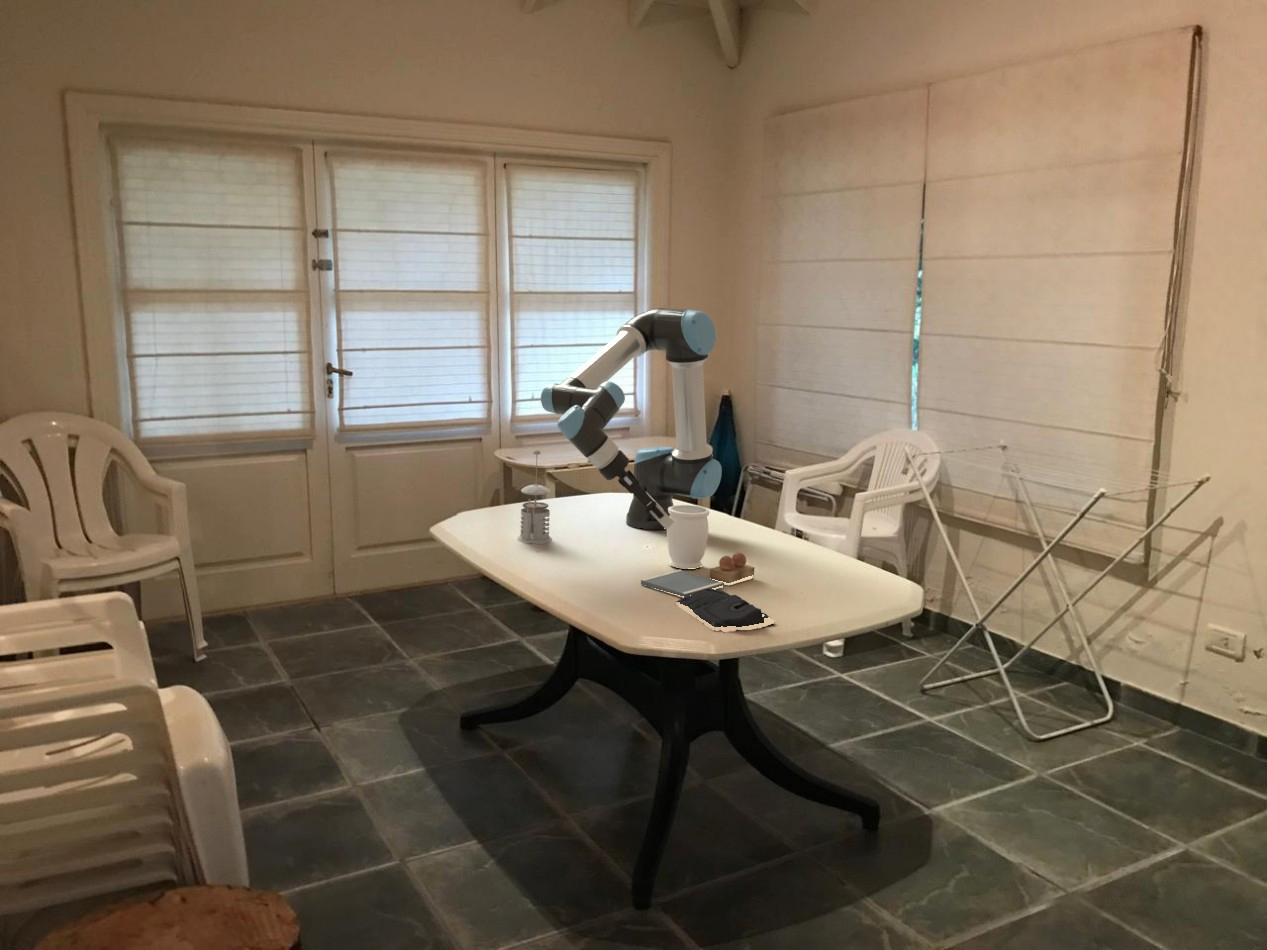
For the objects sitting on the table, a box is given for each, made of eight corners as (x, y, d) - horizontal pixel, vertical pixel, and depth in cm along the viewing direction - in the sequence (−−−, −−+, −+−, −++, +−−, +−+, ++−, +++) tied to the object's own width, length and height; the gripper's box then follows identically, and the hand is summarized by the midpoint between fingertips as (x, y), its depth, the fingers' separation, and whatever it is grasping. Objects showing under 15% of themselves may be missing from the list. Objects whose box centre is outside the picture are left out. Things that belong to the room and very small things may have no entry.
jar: (658, 567, 258) (661, 509, 256) (675, 558, 267) (678, 502, 265) (696, 574, 254) (699, 515, 251) (712, 565, 263) (716, 508, 260)
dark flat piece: (728, 598, 237) (729, 578, 236) (780, 629, 218) (781, 607, 217) (669, 604, 231) (670, 584, 230) (718, 636, 211) (719, 615, 210)
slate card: (679, 574, 253) (679, 569, 253) (723, 587, 243) (723, 582, 243) (640, 584, 243) (641, 579, 243) (685, 599, 233) (685, 593, 233)
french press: (555, 536, 285) (557, 447, 280) (547, 546, 273) (550, 455, 269) (520, 533, 286) (522, 445, 281) (511, 544, 274) (513, 452, 269)
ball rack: (734, 573, 256) (736, 548, 255) (753, 578, 252) (755, 553, 251) (709, 580, 249) (710, 555, 248) (728, 586, 245) (730, 560, 244)
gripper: (590, 460, 263) (644, 517, 268) (604, 479, 239) (663, 542, 244) (611, 440, 263) (665, 498, 268) (627, 457, 239) (686, 520, 244)
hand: (664, 519), depth 256 cm, fingers open, 13 cm apart
